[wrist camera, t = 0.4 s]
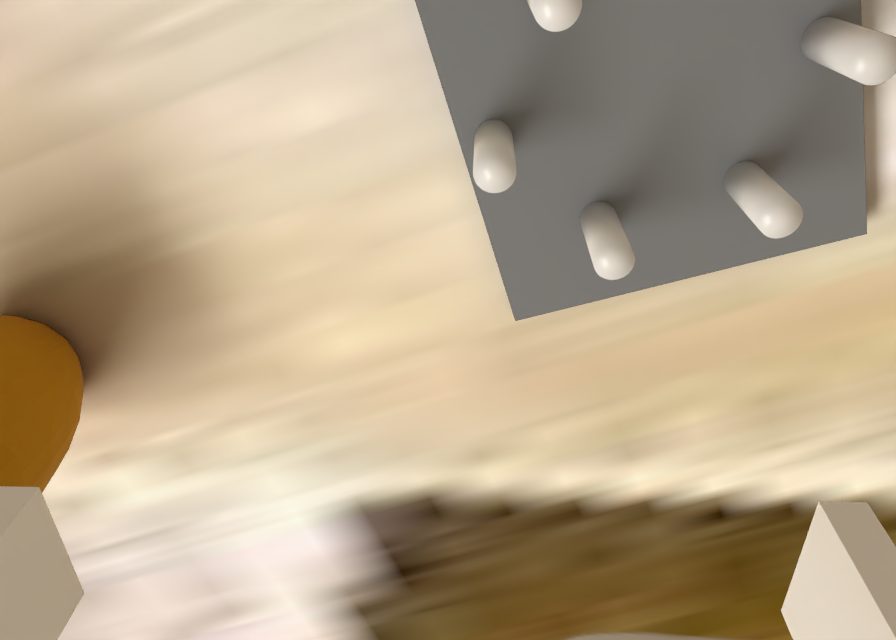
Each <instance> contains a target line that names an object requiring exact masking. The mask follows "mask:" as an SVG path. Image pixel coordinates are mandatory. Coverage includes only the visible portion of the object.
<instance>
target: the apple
mask: <svg viewBox="0 0 896 640" xmlns="http://www.w3.org/2000/svg"><path fill="white" fill-rule="evenodd" d="M82 397H83V374H82V370H81V366H80V362H79V358H78V356H77V355H76V353H75V352H74V350H73V348H72V347H71V345H70V344H69V342H68V341H67V339H65V338H64V337H62V336H61V335H59V334H58V333H56V332H55V331H54V330H52V329H51V328H49V327H48V326H46V325H45V324H42V323H39V322H35V321H32V320H28V319H25V318H21V317H18V316H0V486H9V487H39V488H40V490H41V493H42V492H43V491H44V489H45V487H46V486H47V484H48V483H49V481H50V479H51V478H52V476H53V475H54V473H55V472H56V470H57V468H58V467H59V465H60V463H61V461H62V460H63V458H64V456H65V454H66V453H67V451H68V449H69V447H70V444H71V441H72V439H73V436H74V433H75V431H76V428H77V425H78V423H79V420H80V412H81V405H82Z"/></svg>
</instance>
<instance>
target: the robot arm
mask: <svg viewBox="0 0 896 640" xmlns="http://www.w3.org/2000/svg"><path fill="white" fill-rule="evenodd" d="M83 594H84V591H83V589H82V586H81V584H80V582H79V579H78V577H77V575H76V572H75V570H74V568H73V565H72V563H71V561H70V558H69V556H68V554H67V551H66V549H65V547H64V544H63V542H62V539H61V537H60V535H59V532H58V530H57V528H56V525H55V523H54V521H53V518H52V516H51V514H50V511H49V509H48V507H47V504H46V502H45V500H44V497H43V495H42V493H41V490H40V488H39V487H9V486H0V640H57V639H58V637H59V636H60V634H61V632H62V631H63V629H64V627H65V625H66V624H67V622H68V620H69V619H70V617H71V615H72V613H73V612H74V610H75V608H76V606H77V605H78V603H79V601H80V600H81V598H82V596H83ZM781 612H782V614H783V617H784V619H785V621H786V624H787V626H788V629H789V631H790V633H791V636H792V638H793V640H896V547H895V545H894V544H893V542H892V541H891V539H890V537H889V536H888V534H887V533H886V531H885V530H884V528H883V527H882V525H881V523H880V522H879V520H878V519H877V517H876V516H875V514H874V513H873V511H872V509H871V508H870V506H869V505H868V503H867V502H819V503H818V505H817V508H816V511H815V514H814V517H813V520H812V523H811V526H810V529H809V532H808V534H807V537H806V540H805V543H804V546H803V549H802V552H801V555H800V558H799V560H798V563H797V566H796V569H795V572H794V575H793V578H792V581H791V584H790V586H789V589H788V592H787V595H786V598H785V601H784V604H783V607H782V610H781Z"/></svg>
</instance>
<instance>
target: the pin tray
mask: <svg viewBox="0 0 896 640" xmlns="http://www.w3.org/2000/svg"><path fill="white" fill-rule="evenodd" d="M415 2H416V5H417V8H418V11H419V15H420V18H421V21H422V24H423V27H424V31H425V34H426V37H427V40H428V43H429V47H430V50H431V53H432V56H433V59H434V63H435V66H436V69H437V72H438V75H439V79H440V82H441V85H442V88H443V91H444V95H445V98H446V101H447V104H448V107H449V111H450V114H451V117H452V120H453V123H454V126H455V130H456V133H457V136H458V139H459V142H460V146H461V149H462V152H463V155H464V158H465V162H466V165H467V168H468V171H469V174H470V178H471V181H472V184H473V187H474V190H475V194H476V197H477V200H478V203H479V206H480V210H481V213H482V216H483V219H484V222H485V226H486V229H487V232H488V235H489V238H490V242H491V245H492V248H493V251H494V254H495V258H496V261H497V264H498V267H499V270H500V273H501V277H502V280H503V283H504V286H505V289H506V293H507V296H508V299H509V302H510V305H511V309H512V312H513V315H514V318H515V321H518V320H522V319H526V318H530V317H534V316H538V315H542V314H546V313H550V312H554V311H558V310H562V309H566V308H570V307H574V306H578V305H582V304H586V303H590V302H594V301H598V300H602V299H606V298H610V297H614V296H618V295H622V294H626V293H630V292H634V291H638V290H642V289H647V288H651V287H655V286H659V285H663V284H667V283H671V282H675V281H679V280H683V279H687V278H691V277H695V276H699V275H703V274H707V273H711V272H715V271H719V270H723V269H727V268H731V267H735V266H739V265H743V264H747V263H751V262H755V261H759V260H763V259H767V258H771V257H775V256H780V255H784V254H788V253H792V252H796V251H800V250H804V249H808V248H812V247H816V246H820V245H824V244H828V243H832V242H836V241H840V240H844V239H848V238H852V237H856V236H860V235H864V234H867V218H866V180H865V142H864V104H863V84H865V85H878V84H881V83H883V82H885V81H887V80H888V79H890V78H891V77H892V76H893V75H894V74H895V73H896V37H894V36H891V35H888V34H885V33H882V32H878V31H875V30H872V29H869V28H865V27H862V26H861V0H415Z"/></svg>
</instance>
